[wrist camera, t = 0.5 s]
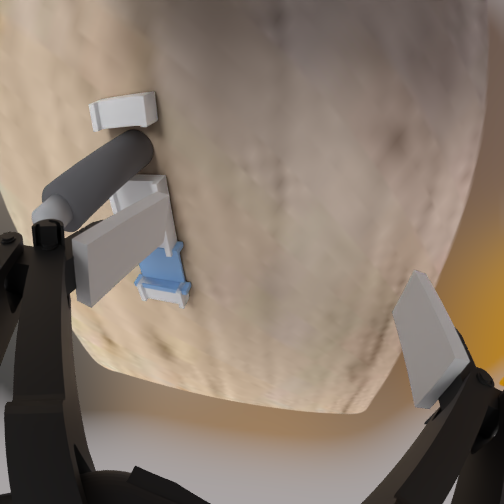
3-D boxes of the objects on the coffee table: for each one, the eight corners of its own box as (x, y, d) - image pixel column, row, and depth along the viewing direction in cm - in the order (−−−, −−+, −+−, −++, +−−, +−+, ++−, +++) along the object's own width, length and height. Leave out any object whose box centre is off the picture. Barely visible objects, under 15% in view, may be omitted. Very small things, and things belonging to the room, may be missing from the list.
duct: (96, 99, 24) (84, 105, 22) (160, 90, 23) (149, 95, 21) (144, 289, 39) (138, 299, 38) (193, 297, 38) (188, 309, 37)
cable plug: (114, 131, 26) (17, 198, 16) (149, 128, 25) (52, 199, 15) (122, 167, 28) (37, 245, 18) (155, 167, 28) (72, 251, 18)
